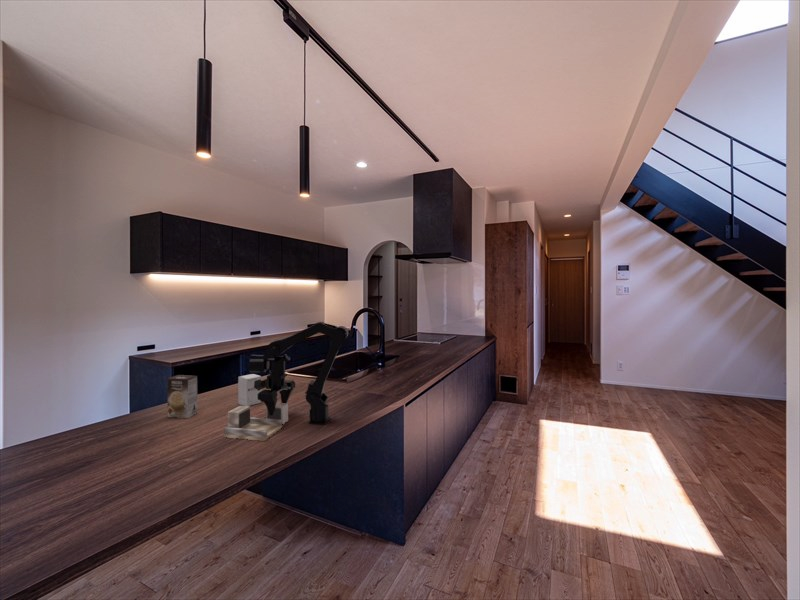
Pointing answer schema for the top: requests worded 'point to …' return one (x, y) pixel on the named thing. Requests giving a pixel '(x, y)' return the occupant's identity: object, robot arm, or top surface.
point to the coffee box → (182, 396)
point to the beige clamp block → (250, 425)
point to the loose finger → (279, 412)
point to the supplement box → (248, 390)
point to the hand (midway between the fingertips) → (277, 411)
